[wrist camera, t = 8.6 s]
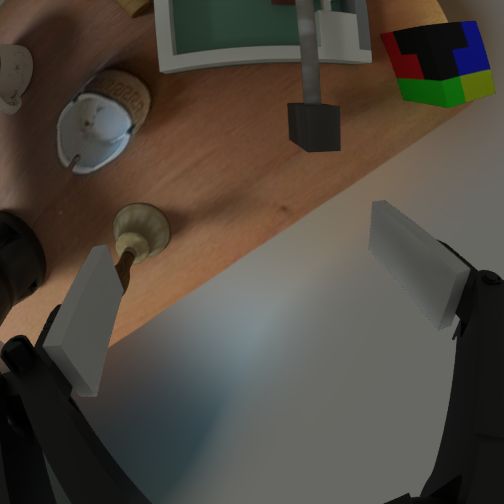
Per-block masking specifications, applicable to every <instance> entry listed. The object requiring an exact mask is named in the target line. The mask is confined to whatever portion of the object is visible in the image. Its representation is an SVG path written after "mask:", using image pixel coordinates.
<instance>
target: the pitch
mask: <svg viewBox="0 0 504 504" xmlns="http://www.w3.org/2000/svg"><path fill="white" fill-rule="evenodd" d="M313 6H314V15H315V25H316V35H317V47H318V59H319V63H329V64H347V65H356V64H365V63H372V54H371V41H370V30H369V21H368V12H367V4H366V0H334V1H330V0H313ZM154 11H155V25H156V37H157V49H158V59H159V69H160V72H162V73H165V74H174V73H180V72H186V71H193V70H200V69H207V68H216V67H225V66H236V65H249V64H267V63H301V53H300V42H299V31H298V21H297V11H296V5H272V4H271V0H154Z"/></svg>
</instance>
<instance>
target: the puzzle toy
mask: <svg viewBox="0 0 504 504" xmlns="http://www.w3.org/2000/svg"><path fill="white" fill-rule="evenodd" d="M380 35H381V38H382V40H383V43H384V45H385V48H386V50H387V53H388V55H389V58H390V61H391V63H392V66H393V69H394V72H395V75H396V78H397V81H398V84H399V87H400V90H401V93H402V96H403V100H406V101H412V102H418V103H424V104H429V105H435V106H440V107H445V108H451V107H454V106H457V105H460V104H463V103H466V102H469V101H472V100H476V99H478V98H482V97H485V96H489V95H492V94H495V87H494V83H493V78H492V74H491V70H490V66H489V62H488V59H487V55H486V51H485V48H484V44H483V41H482V38H481V35H480V32H479V29H478V26H477V23H476V21H465V22H452V23H441V24H433V25H425V26H419V27H413V28H408V29H403V30H398V31H393V32H389V33H384V34H380Z"/></svg>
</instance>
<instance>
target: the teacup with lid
mask: <svg viewBox="0 0 504 504" xmlns="http://www.w3.org/2000/svg"><path fill="white" fill-rule="evenodd" d="M32 72H33V60H32V56H31V54H30V52H29V50H28V49H27V48H25V47H23V46H21V45H11V44H0V111H1V112H2V113H4V114H7V115H12V114H14V113H16V112H17V111H18V110H19V108H20V107H21V103H22V101H21V97H20V96H21V95H22V94H23V93H24V91H25V90H26V88H27V86H28V84H29V82H30V80H31V76H32ZM11 102H13V103H14V106H11V105H9V104H7V103H11Z"/></svg>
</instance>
